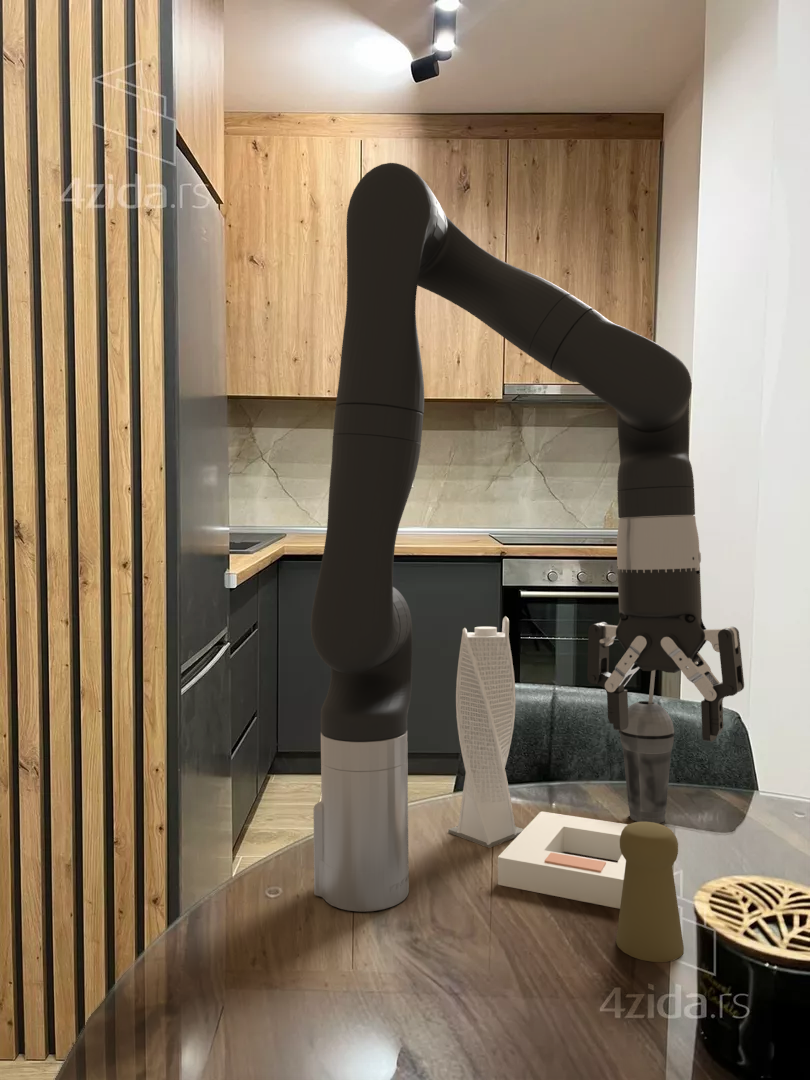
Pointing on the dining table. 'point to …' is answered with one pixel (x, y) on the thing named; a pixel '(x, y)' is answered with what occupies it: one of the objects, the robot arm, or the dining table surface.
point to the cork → (649, 894)
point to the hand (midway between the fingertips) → (664, 734)
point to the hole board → (566, 859)
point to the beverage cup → (647, 758)
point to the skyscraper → (485, 734)
